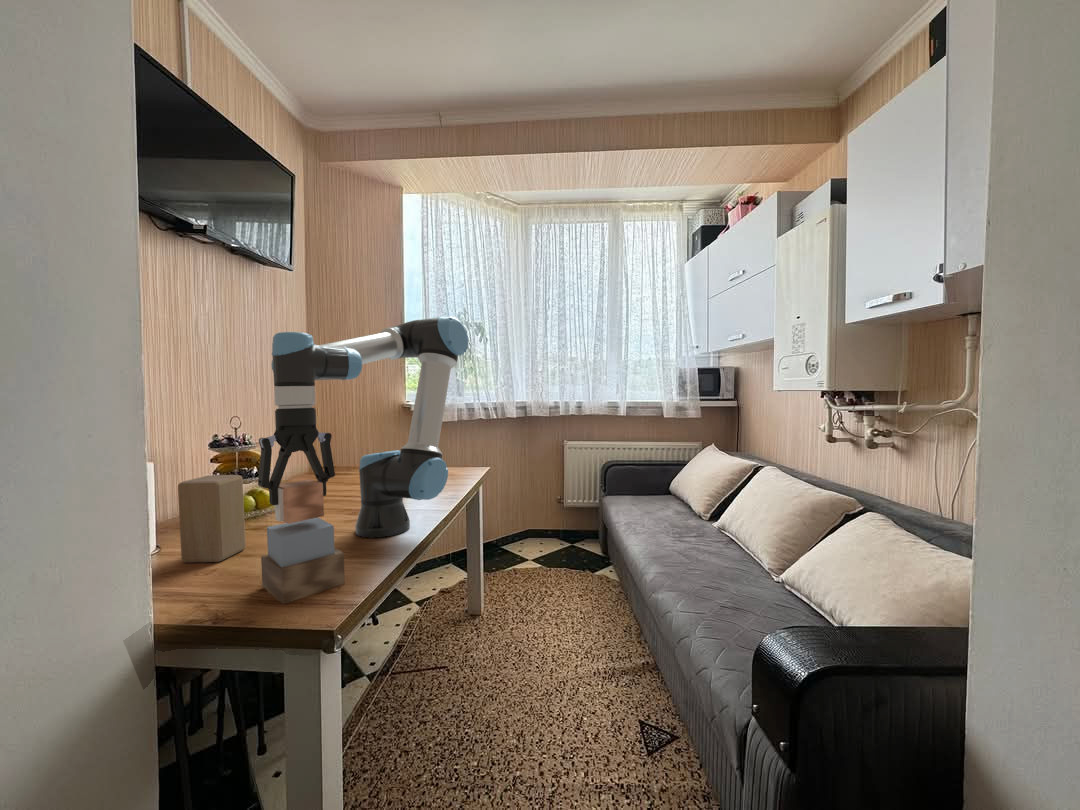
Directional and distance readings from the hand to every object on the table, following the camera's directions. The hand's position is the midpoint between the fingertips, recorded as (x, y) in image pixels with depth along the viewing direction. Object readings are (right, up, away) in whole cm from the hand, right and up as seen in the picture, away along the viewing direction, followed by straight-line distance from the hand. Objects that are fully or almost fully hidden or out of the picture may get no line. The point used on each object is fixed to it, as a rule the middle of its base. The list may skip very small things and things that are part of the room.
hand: (299, 515), depth 95 cm
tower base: (+1, -15, +1) cm, 15 cm away
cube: (0, 0, 0) cm, 0 cm away
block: (-32, -15, +20) cm, 41 cm away
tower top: (0, -8, 0) cm, 8 cm away
